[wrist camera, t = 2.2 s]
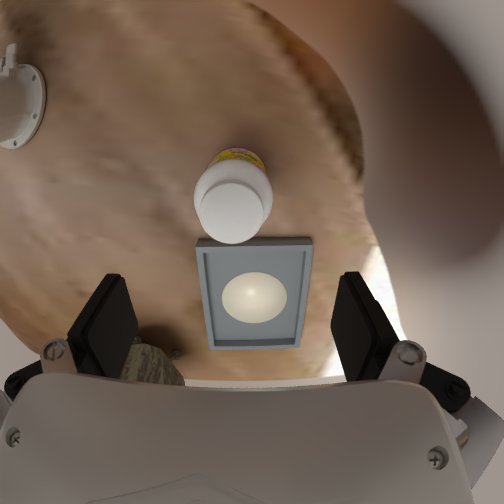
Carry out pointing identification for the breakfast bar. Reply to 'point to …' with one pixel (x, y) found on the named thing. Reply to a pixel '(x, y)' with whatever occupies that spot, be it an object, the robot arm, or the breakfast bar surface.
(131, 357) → the tabletop clock
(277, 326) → the tray
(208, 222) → the supplement bottle
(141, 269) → the breakfast bar surface
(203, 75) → the breakfast bar surface
